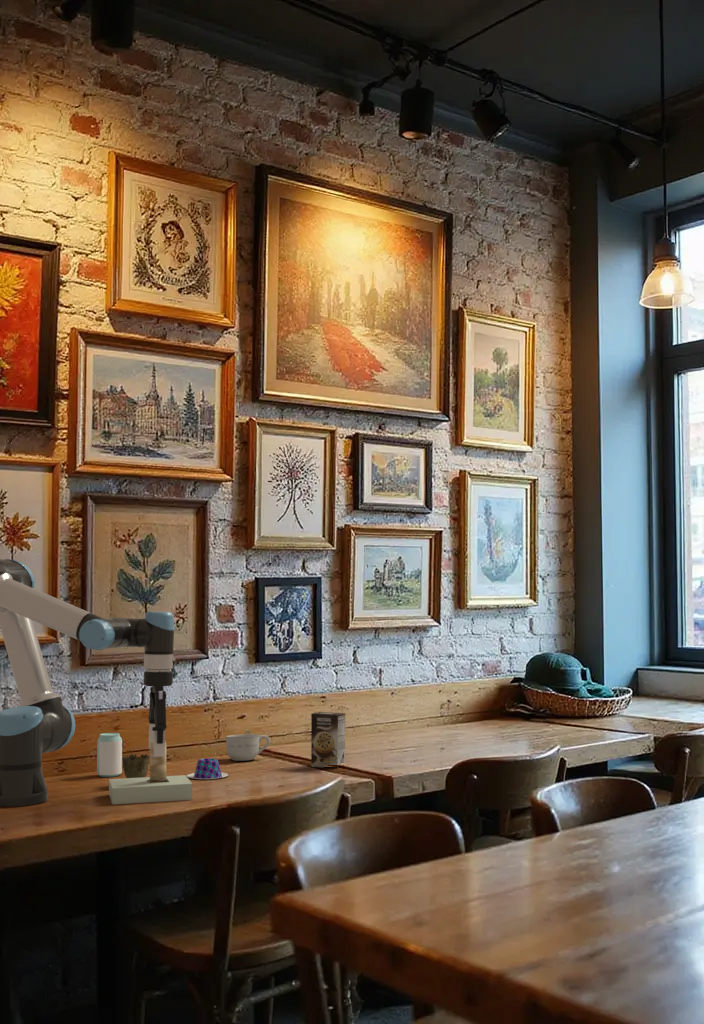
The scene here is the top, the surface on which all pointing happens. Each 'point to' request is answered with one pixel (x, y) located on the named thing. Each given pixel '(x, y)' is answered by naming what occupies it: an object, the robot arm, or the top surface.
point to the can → (109, 755)
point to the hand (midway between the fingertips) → (156, 752)
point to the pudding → (207, 769)
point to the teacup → (245, 746)
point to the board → (149, 790)
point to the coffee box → (327, 739)
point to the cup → (135, 766)
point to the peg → (157, 766)
